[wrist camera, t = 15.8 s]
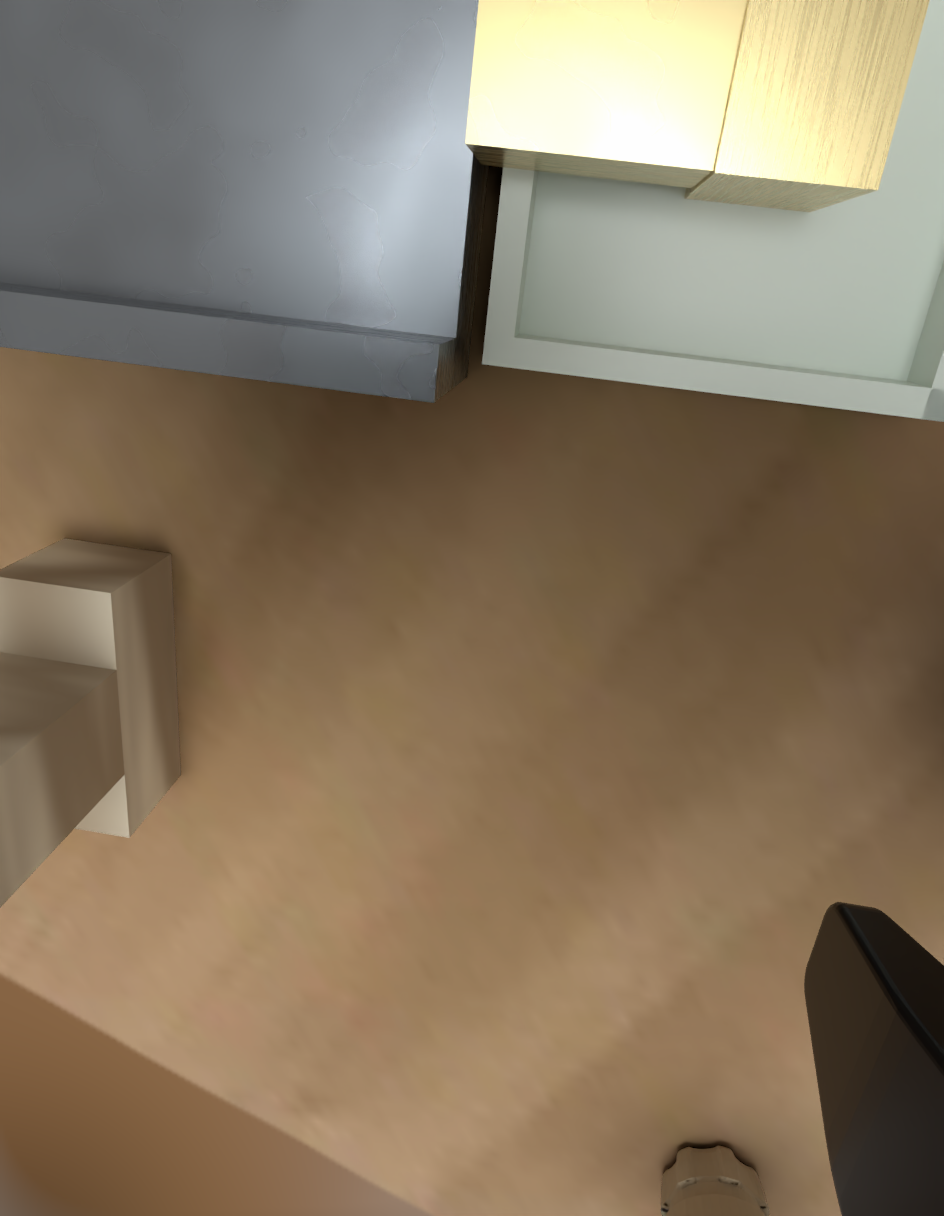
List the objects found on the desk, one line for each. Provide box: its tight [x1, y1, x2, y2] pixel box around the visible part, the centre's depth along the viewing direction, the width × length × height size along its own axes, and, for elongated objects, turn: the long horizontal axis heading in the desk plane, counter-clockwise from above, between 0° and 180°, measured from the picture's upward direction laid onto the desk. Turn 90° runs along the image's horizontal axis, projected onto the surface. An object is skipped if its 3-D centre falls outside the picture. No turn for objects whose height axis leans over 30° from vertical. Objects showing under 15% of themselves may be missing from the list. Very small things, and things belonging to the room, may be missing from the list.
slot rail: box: [0, 0, 488, 403], centre depth 15 cm, size 13×12×4 cm
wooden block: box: [684, 0, 930, 212], centre depth 14 cm, size 4×4×2 cm
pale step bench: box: [0, 538, 181, 907], centre depth 19 cm, size 3×7×9 cm, turn 174°
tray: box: [482, 0, 944, 422], centre depth 15 cm, size 10×11×2 cm
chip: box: [465, 0, 747, 188], centre depth 13 cm, size 4×4×2 cm
